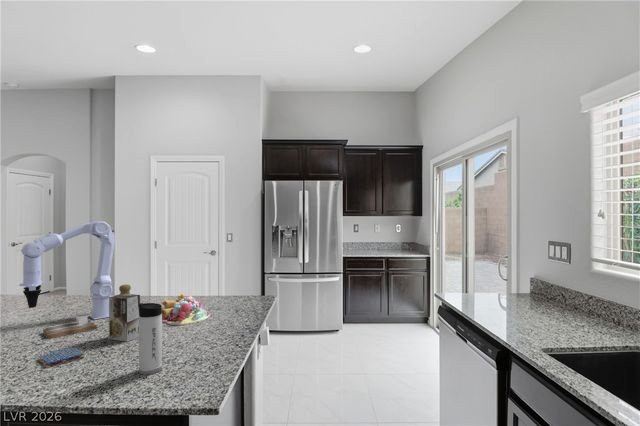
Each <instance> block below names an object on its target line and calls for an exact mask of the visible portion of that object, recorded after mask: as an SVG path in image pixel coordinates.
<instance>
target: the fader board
mask: <svg viewBox="0 0 640 426" xmlns="http://www.w3.org/2000/svg"><path fill="white" fill-rule="evenodd" d="M97 329H98V325H97V324H96V323H95V322H94V321H92V320H91V319H90V318H88V323H85V324H80V325H77V324H76V321H74V322H73V321H72V322H68V323H62V324H58V325H51V326H46V327H45V328H43V329H42V333H43V334H44V335H43V336H44V337H46V338H47V339H48V340H50V339H55V338H60V337H64V336H70V335H74V334H79V333H83V332H88V331H93V330H97Z"/></svg>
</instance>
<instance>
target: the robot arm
mask: <svg viewBox="0 0 640 426" xmlns="http://www.w3.org/2000/svg"><path fill="white" fill-rule="evenodd" d="M82 234H90V235H93V236H94V237H96V238H97V239H98V240H99V241H100V242H101V244H100V249H99V251H100V252H99V258H98V264H97V271H96V276H95V278H94V279H93V283H92V285H91V286H90V292H91V294H92V299H91V310H92V312H91V314H90V315H89V314H88V317H90V318H91V319H93V320H100V319H104V318H105V319H106V318H109V297H112V296H113V295H112V294H113V291H114V289H113V286H112V282H113V281H112V279H111V271H112V262H113V257H114V249H115V242H116V237H115V235H114V232H113V230H112V226H111V225H109V223H107V222H106V221H103V220H99V221H96V220H92V221H90V222H86V223H83V224H79V225H78V226H75V227H73V228H71V229H69V230H66V231H64V232H62V233H59V234H58V233H55V232H54V233H47V234H46V236H44V237H41V238H40V239H37V238H36V239H34V240H33V241H34V242H27V243H26V244H24V245H23V246H22V248H21V250H20V251H21V254H22V255H23V262H22V265H23V266H22V270H23V272H22V273H23V274H22V275H23V277H22V278H23V280H22V283H19V287H23V291H22V293H23V294H24V296H25V297H26V302H27V306H28V309H31V308H33V309H34V308H36V307H37V306H38V299H39V296H40V294H41V292H42V289H41V288H42V284H43V281H42V255H43V253H47V252H48V251H51V250H53V249H56V248H59V247H60V246H62V244H63V243H64V241H67V240H69V239H70V240H71V239H72V238H75V237H78V236H79V235H82Z"/></svg>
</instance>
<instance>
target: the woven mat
mask: <svg viewBox="0 0 640 426" xmlns="http://www.w3.org/2000/svg"><path fill="white" fill-rule="evenodd" d="M80 358H81V359H84V358H85V355H84V353H83V352H82V351H81V350H79V349H77V348H76V347H75V346H74V347H69V348H66V349H65V348H64V349H61V350H57V351H55V352H54V351H52V352H49V353H48V352H47V353H45V354H43V355H42V354H40V356H39V357H38V361H39V362H40V363H42V364H43V366H44V367H45V368H52V367H56V366H59V365H60V366H61V365H63V364H66V363H70V361H71V362H73V361H78V360H81V359H80ZM72 359H73V360H72ZM77 359H78V360H77Z"/></svg>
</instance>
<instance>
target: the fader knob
mask: <svg viewBox="0 0 640 426" xmlns="http://www.w3.org/2000/svg"><path fill="white" fill-rule="evenodd" d="M75 315H76V318H75V319H76V321H75V322H76V324H77V325H80V324H85V323H88V319H89V318H88V317H89V314H88V313H87V312H86V311H83V312H78V313H75Z"/></svg>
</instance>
